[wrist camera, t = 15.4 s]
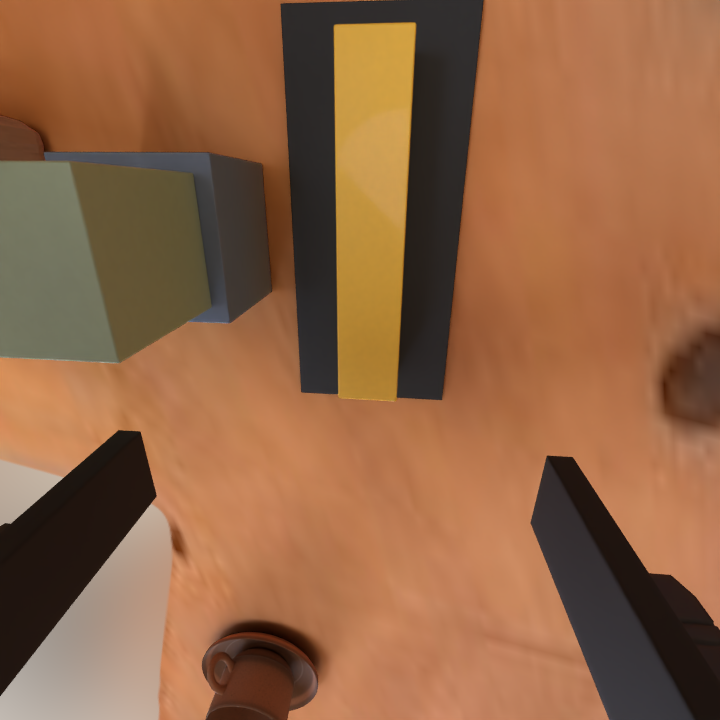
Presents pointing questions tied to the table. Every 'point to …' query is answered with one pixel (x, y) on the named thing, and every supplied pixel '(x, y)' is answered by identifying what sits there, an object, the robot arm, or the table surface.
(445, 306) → the mat
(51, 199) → the tower
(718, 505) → the table surface
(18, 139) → the block
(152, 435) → the table surface
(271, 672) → the cup and saucer
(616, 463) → the table surface
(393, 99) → the bar
